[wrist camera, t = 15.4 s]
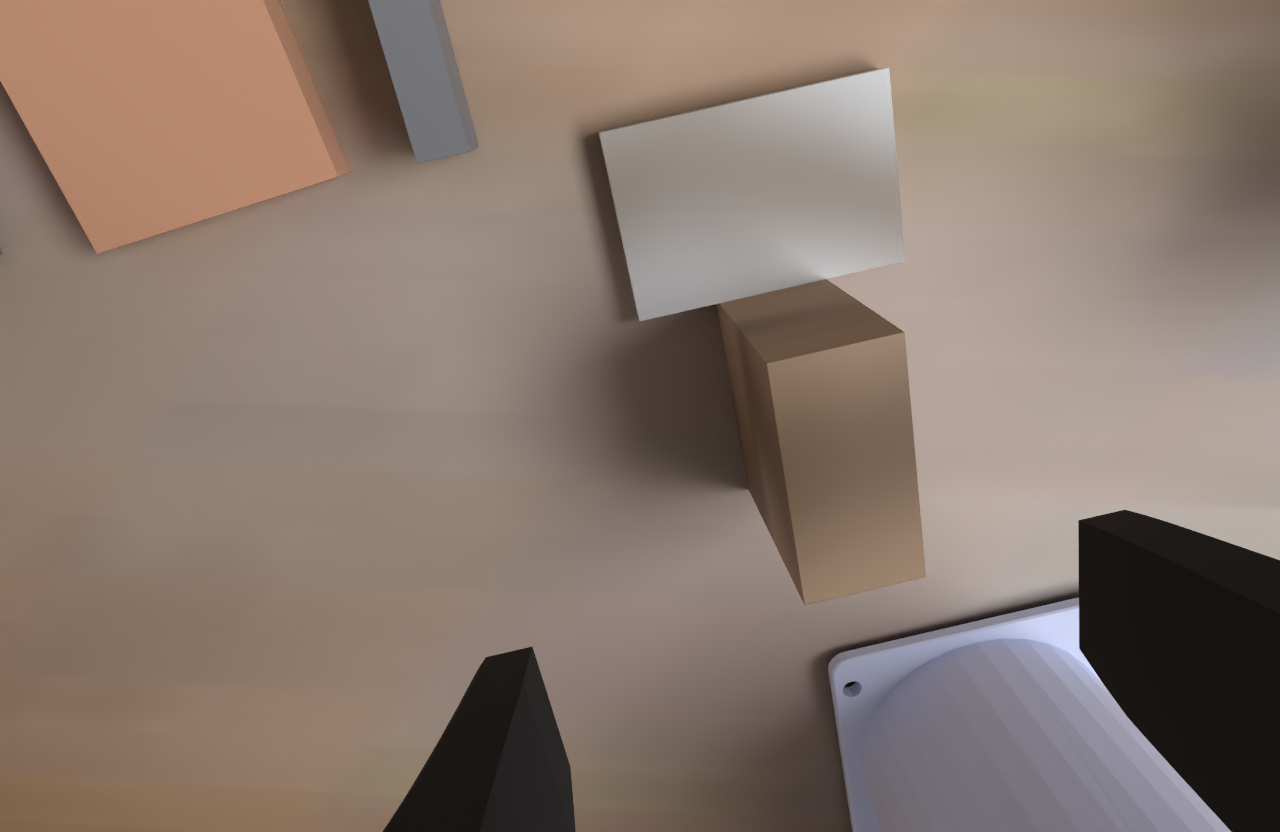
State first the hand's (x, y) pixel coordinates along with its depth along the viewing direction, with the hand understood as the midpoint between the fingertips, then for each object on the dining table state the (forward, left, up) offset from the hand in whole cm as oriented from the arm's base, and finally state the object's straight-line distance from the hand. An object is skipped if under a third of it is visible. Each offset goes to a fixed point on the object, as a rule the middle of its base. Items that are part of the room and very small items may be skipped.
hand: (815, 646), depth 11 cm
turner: (+2, -2, -10) cm, 10 cm away
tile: (+9, +9, -10) cm, 16 cm away
